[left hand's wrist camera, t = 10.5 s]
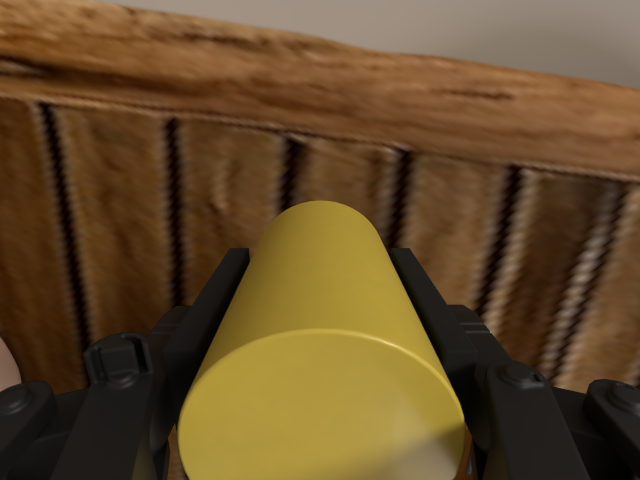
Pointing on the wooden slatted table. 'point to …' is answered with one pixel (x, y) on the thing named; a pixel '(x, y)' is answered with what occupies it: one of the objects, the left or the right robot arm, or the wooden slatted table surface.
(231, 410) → the cylinder
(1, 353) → the anatomical model
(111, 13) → the wooden slatted table surface
